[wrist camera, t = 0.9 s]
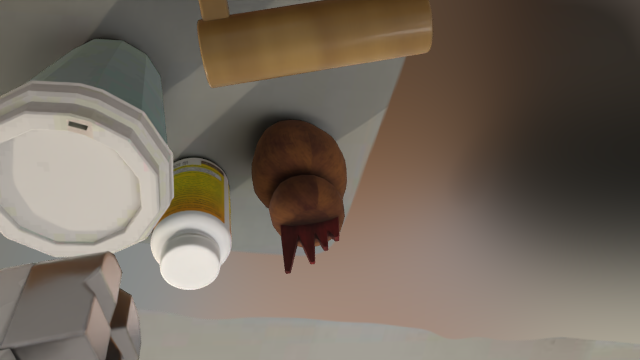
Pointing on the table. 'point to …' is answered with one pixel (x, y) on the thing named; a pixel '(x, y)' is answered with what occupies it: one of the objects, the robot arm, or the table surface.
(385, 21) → the lid
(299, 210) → the wooden figurine
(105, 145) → the disposable coffee cup
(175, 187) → the supplement bottle
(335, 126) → the table surface
